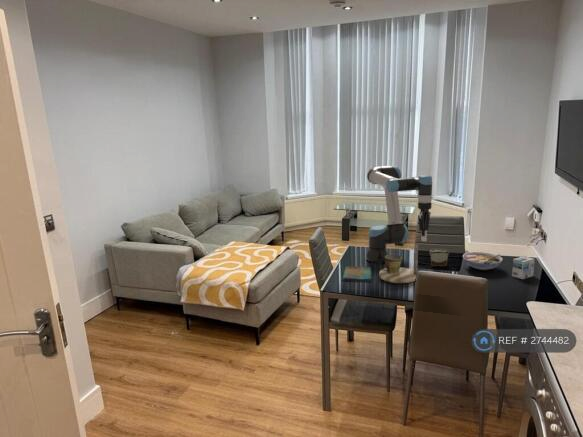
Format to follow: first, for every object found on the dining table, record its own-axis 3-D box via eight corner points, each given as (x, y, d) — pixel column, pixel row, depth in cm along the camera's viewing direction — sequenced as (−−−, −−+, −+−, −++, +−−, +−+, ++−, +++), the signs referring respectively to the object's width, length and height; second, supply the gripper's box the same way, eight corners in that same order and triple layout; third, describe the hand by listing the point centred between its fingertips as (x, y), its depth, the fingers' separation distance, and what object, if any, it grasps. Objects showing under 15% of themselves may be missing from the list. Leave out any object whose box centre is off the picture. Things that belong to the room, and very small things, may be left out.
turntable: (372, 278, 237) (372, 247, 233) (389, 267, 253) (390, 239, 249) (407, 286, 223) (408, 253, 219) (423, 274, 239) (424, 244, 235)
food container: (446, 262, 264) (446, 248, 262) (448, 265, 258) (449, 250, 256) (427, 262, 265) (427, 248, 263) (429, 265, 259) (429, 251, 257)
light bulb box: (522, 279, 229) (523, 261, 227) (511, 276, 235) (512, 258, 233) (533, 276, 234) (535, 258, 232) (522, 272, 240) (524, 255, 238)
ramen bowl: (471, 260, 267) (471, 248, 265) (508, 267, 251) (509, 254, 249) (454, 269, 250) (455, 257, 248) (493, 278, 234) (494, 264, 232)
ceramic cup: (400, 276, 232) (400, 260, 230) (383, 275, 236) (383, 258, 234) (403, 269, 244) (403, 253, 242) (386, 267, 247) (386, 252, 245)
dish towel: (342, 281, 239) (342, 277, 239) (344, 268, 262) (344, 265, 261) (371, 282, 236) (371, 278, 235) (371, 269, 258) (371, 265, 258)
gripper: (426, 204, 226) (425, 244, 231) (435, 200, 236) (434, 239, 240) (413, 203, 231) (413, 242, 236) (423, 199, 240) (422, 237, 245)
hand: (423, 240), depth 238 cm, fingers closed
